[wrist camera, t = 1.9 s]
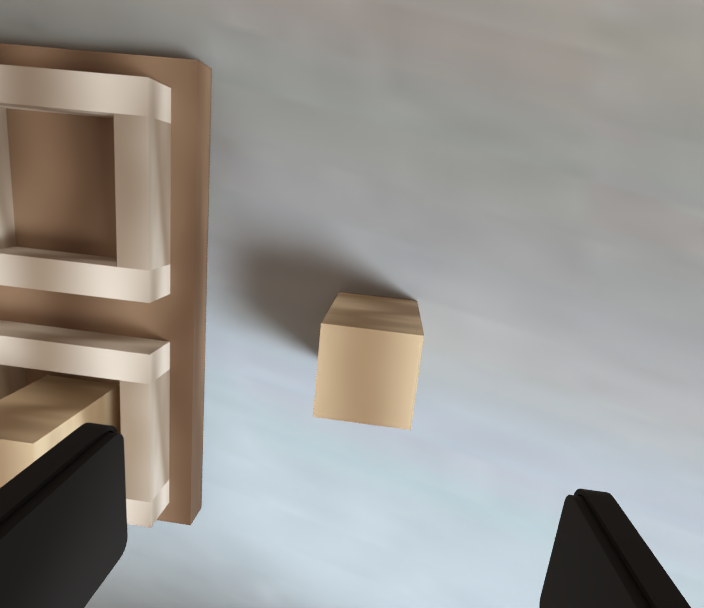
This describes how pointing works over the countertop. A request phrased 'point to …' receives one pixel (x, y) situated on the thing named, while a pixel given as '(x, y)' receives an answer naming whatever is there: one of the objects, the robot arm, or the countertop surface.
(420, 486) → the countertop surface
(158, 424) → the board
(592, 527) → the robot arm
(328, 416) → the tan wooden block
